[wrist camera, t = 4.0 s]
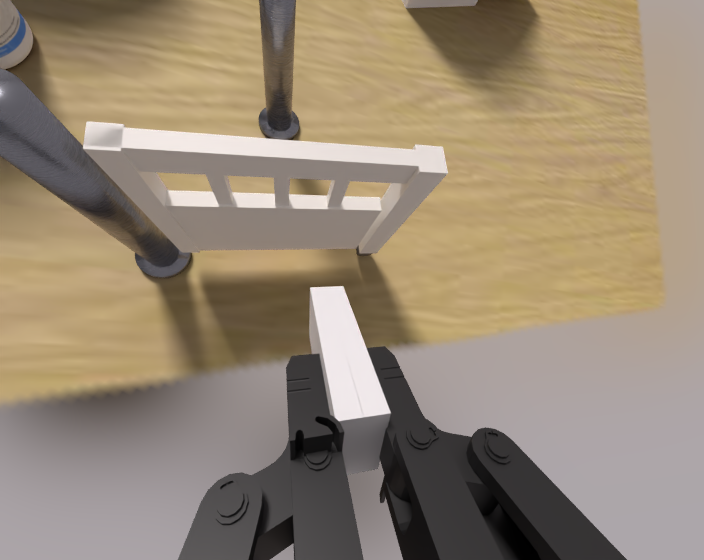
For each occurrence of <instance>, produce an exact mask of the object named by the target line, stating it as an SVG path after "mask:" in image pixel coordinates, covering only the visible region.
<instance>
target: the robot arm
mask: <svg viewBox="0 0 704 560" xmlns="http://www.w3.org/2000/svg"><path fill="white" fill-rule="evenodd" d="M309 337H310V343H311V350H312V354H309V355H298V356H292V357H291V359H290V361H289V363H288V365H287V367H286V373H287V400H288V423H289V441H288V444H287V447H286V449H285V451H284V452H283V454H282V455H281V456H280V457H279V458H278V459H277V460H276V462H274V463H273V464H271V465H270V466H268V467H266V468H265V469H263V470H261V471H259V472H257V473H255V474H254V475H248V474H244V473H235V474H229V475H228V476H226V477H224V478H222V479H220V480H218V481H217V482H216V483H215V484H214V485H213V486H212V487H211V488H210V489H209V490H208V491H207V493H206V495H205V496H204V498H203V500H202V502H201V504H200V506H199V509H198V511H197V514H196V516H195V519H194V521H193V523H192V526H191V528H190V531H189V534H188V536H187V539H186V541H185V543H184V546H183V548H182V551H181V554H180V556H179V559H178V560H270V559H271V558H273V557H274V556H276V555H277V554H278V553H280V552H281V551H283V550H284V549H285V548H287V547H288V546H290V545H291V544H293V543H294V560H363V555H362V549H361V544H360V539H359V535H358V530H357V524H356V519H355V514H354V509H353V504H352V499H351V494H350V489H349V484H348V478H347V475H349V474H354V473H359V472H364V471H369V470H375V469H378V466H379V461H381V464H382V468H383V471H384V475H385V476H384V480H383V483H382V487H381V491H380V503H383V502H384V500H385V497H386V499H387V503H388V507H389V511H390V514H391V518H392V521H393V525H394V528H395V532H396V535H397V539H398V543H399V546H400V550H401V554H402V557H403V560H627V559H626V558H625V557H624V556H623V555H622V554H621V553H620V552H619V551H618V550H617V549H616V548H615V547H614V546H613V545H612V544H611V543H610V542H609V541H608V540H607V538H606V537H604V535H603V534H602V533H601V532H600V531H599V530H598V529H597V528H596V527H595V526H594V525H593V524H592V523H591V522H590V521H589V520H588V519H587V518H586V517H585V516H584V515H583V514H582V512H581V511H580V510H579V509H578V508H577V507H576V506H575V505H574V504H573V503H572V502H571V501H570V500H569V499H568V498H567V497H566V496H565V495H564V494H563V493H562V492H561V491H560V489H559V488H558V487H557V486H556V485H555V484H554V483H553V482H552V481H551V480H550V479H549V478H548V477H547V476H546V475H545V474H544V473H543V472H542V471H541V470H540V469H539V468H538V467H537V466H536V465H535V463H533V461H532V460H530V458H529V457H528V456H527V455H526V454H525V453H524V452H523V451H522V450H521V449H520V448H519V447H518V446H517V445H516V444H515V443H514V442H513V441H512V440H511V439H510V438H509V437H508V436H506V435H505V434H504V433H502V432H500V431H497V430H496V429H491V428H481V429H478V430H477V431H476V432H475V433H474V434H473V436H472V437H468V436H463V435H457V434H451V433H447V432H443V431H441V430H439V429H437V427H436V426H435V425H434V424H433V423H431V422H430V421H429V420H427V419H425V417H424V416H423V414H422V412H421V411H420V409H419V407H418V404H417V402H416V400H415V398H414V396H413V394H412V392H411V389H410V387H409V385H408V383H407V381H406V379H405V378H404V375H403V373H402V371H401V369H400V366H399V364H398V362H397V360H396V358H395V356H394V355H393V354H392V353H391V352H390V351H389V350H388V349H387V348H386V347H385V346H384V347H373V348H366V346H365V343H364V340H363V338H362V335H361V332H360V330H359V327H358V324H357V322H356V319H355V316H354V314H353V311H352V308H351V306H350V303H349V300H348V298H347V295H346V292H345V290H344V287H343V286H333V287H310V319H309Z"/></svg>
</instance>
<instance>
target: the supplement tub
mask: <svg viewBox="0 0 704 560" xmlns="http://www.w3.org/2000/svg"><path fill="white" fill-rule="evenodd" d="M32 45H33V35H32V31H31V29H30V27H29V25H28V23H27V22H26V20H25V19H24V18H23V17H22V15H21V14H20V13H19V11H18V10H17V9H16V7H15V6H14V5H13V4H12V2H11V1H10V0H0V68H1V69H8V68H11V67H13V66H16V65H17V64H19V63H20V62H22V61H23V60H24V59H25V58H26V57H27V56H28V54H29V53H30V51H31V49H32Z"/></svg>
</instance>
